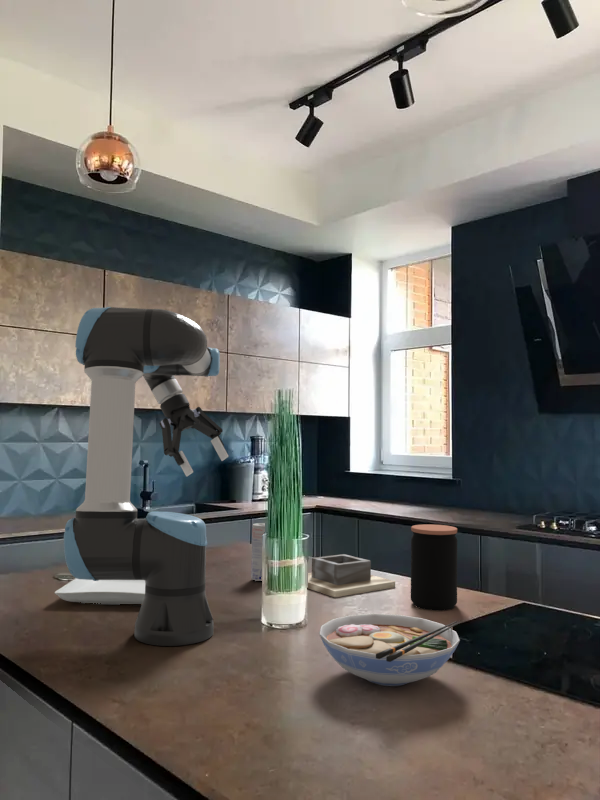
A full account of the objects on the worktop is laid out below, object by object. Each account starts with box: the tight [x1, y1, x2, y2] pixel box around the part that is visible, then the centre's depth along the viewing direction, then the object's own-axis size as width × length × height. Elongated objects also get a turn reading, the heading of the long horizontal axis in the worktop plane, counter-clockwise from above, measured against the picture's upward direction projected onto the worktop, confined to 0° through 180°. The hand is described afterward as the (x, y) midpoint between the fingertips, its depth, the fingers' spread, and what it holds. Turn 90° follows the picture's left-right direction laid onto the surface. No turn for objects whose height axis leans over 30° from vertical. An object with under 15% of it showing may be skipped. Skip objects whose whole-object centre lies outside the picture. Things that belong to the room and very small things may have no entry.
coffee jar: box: [410, 523, 458, 612], centre depth 156 cm, size 11×11×18 cm
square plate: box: [53, 578, 145, 605], centre depth 162 cm, size 27×27×4 cm
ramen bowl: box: [318, 613, 461, 687], centre depth 109 cm, size 25×23×8 cm
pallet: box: [307, 553, 396, 598], centre depth 175 cm, size 20×20×6 cm
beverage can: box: [250, 522, 266, 582], centre depth 179 cm, size 6×6×15 cm
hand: (208, 466), depth 181 cm, fingers open, 13 cm apart
